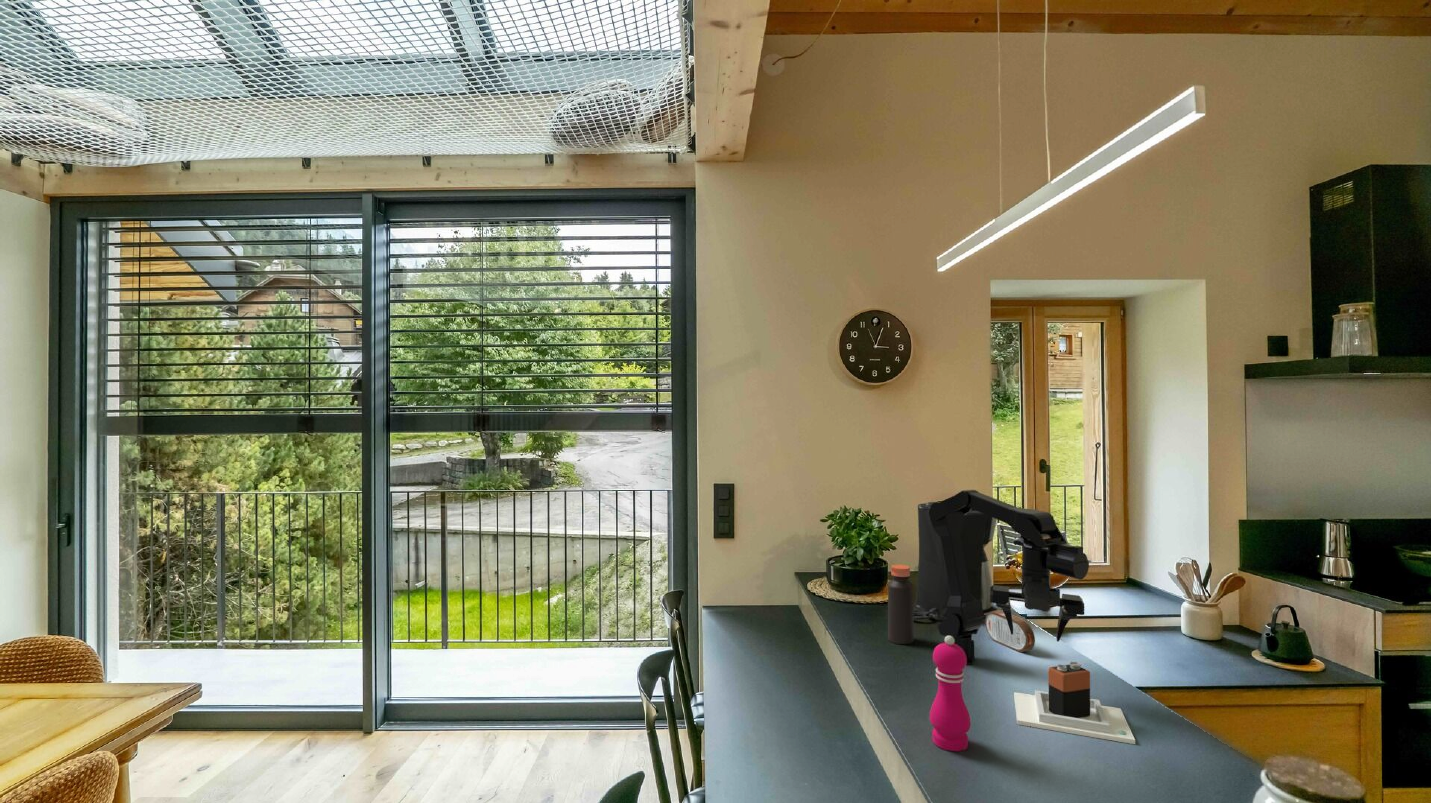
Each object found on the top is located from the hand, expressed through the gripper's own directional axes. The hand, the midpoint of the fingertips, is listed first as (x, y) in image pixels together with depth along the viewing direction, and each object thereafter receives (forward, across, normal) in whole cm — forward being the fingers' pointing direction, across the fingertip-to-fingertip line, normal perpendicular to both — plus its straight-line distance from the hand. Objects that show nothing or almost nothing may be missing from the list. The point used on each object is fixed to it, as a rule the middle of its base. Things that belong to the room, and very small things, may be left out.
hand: (1034, 637), depth 144 cm
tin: (+12, -5, +27) cm, 30 cm away
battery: (+11, +6, -12) cm, 17 cm away
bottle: (+13, -32, +20) cm, 39 cm away
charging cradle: (+11, +6, -12) cm, 18 cm away
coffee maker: (+13, -23, +53) cm, 60 cm away
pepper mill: (+12, -16, -33) cm, 38 cm away
